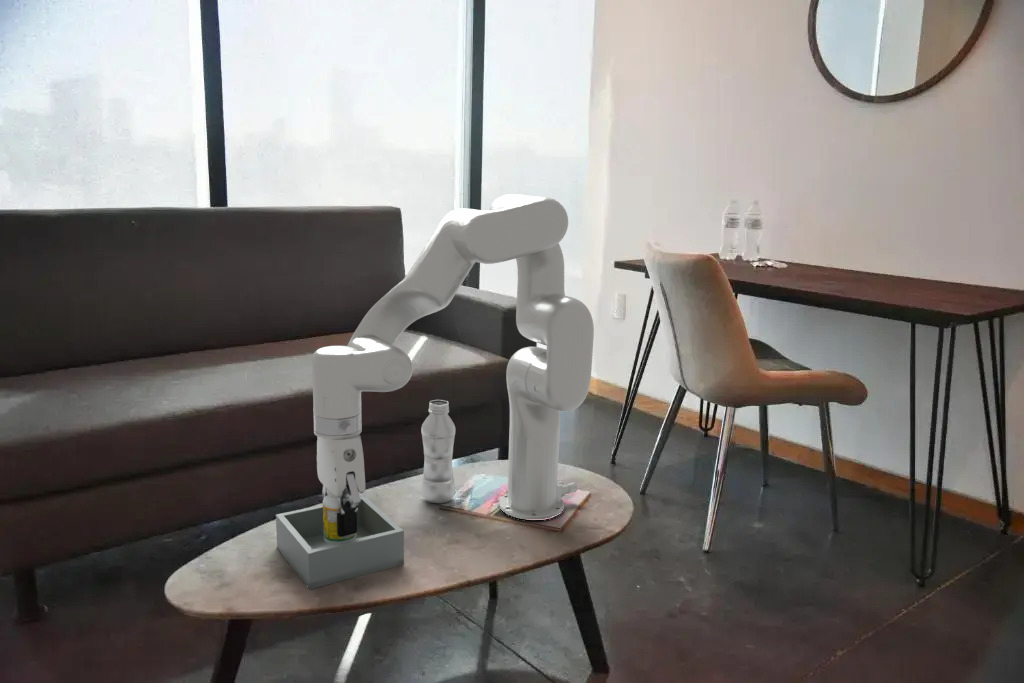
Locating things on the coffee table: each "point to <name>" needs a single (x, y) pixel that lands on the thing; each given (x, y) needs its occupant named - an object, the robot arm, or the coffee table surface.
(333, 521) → the supplement bottle
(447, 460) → the plastic bottle
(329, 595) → the coffee table surface
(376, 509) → the tote
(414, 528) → the coffee table surface
